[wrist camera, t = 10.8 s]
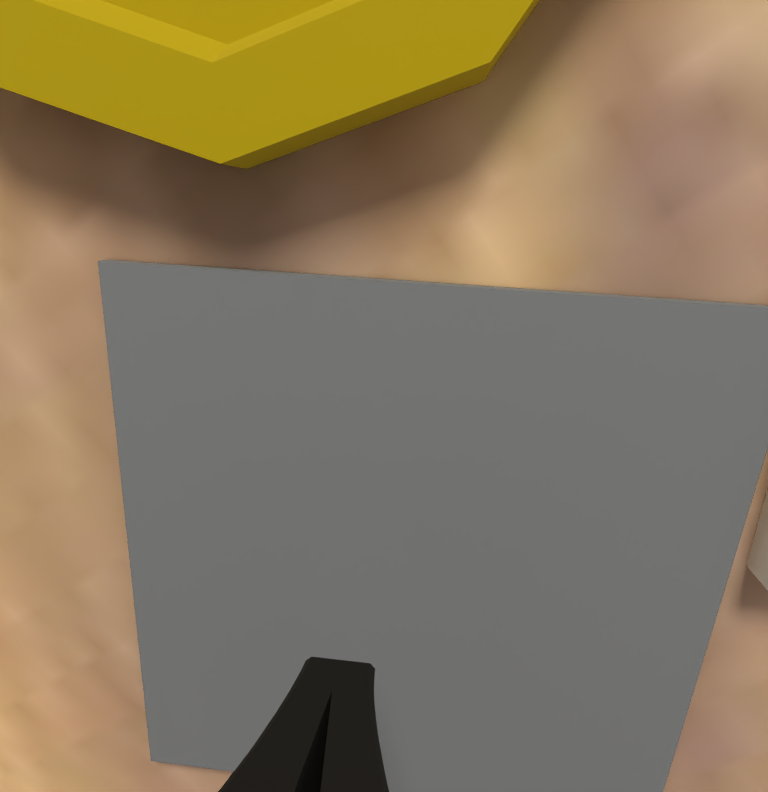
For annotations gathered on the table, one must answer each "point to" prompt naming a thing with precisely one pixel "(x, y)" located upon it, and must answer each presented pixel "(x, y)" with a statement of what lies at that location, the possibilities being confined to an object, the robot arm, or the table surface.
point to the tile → (760, 547)
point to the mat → (432, 512)
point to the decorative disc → (249, 64)
